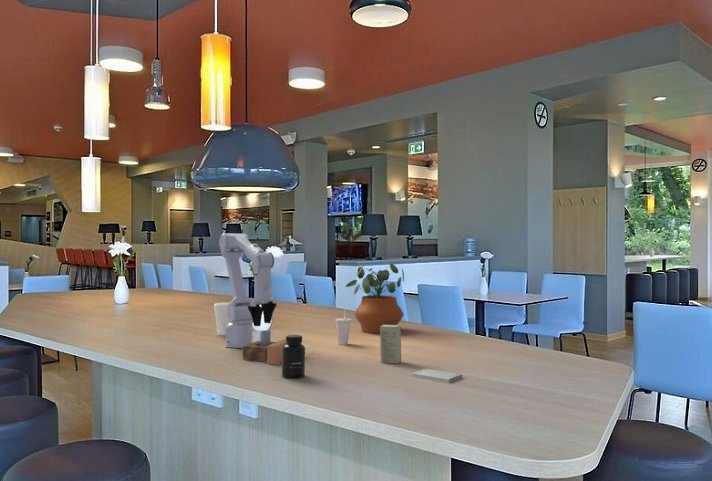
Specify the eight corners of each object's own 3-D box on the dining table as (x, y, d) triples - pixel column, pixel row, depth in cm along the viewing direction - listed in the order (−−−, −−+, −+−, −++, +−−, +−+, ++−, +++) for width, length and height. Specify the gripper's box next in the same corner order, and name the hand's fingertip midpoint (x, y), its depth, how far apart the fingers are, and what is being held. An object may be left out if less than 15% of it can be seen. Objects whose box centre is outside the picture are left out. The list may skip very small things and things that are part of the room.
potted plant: (385, 336, 238) (385, 265, 238) (333, 330, 255) (333, 263, 255) (413, 330, 257) (413, 263, 257) (362, 324, 274) (363, 262, 274)
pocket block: (242, 359, 192) (242, 346, 192) (258, 353, 202) (258, 340, 202) (272, 361, 188) (272, 348, 188) (286, 355, 199) (286, 342, 199)
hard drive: (462, 374, 168) (426, 367, 176) (448, 379, 162) (412, 372, 170) (462, 379, 168) (426, 373, 176) (448, 385, 162) (411, 378, 170)
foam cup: (241, 333, 244) (241, 303, 244) (225, 336, 236) (225, 305, 236) (225, 331, 249) (225, 302, 249) (209, 334, 241) (209, 304, 241)
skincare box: (401, 361, 190) (401, 325, 190) (398, 364, 186) (398, 326, 186) (383, 360, 192) (383, 323, 192) (379, 362, 188) (379, 325, 188)
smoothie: (349, 345, 218) (349, 309, 218) (333, 345, 219) (333, 308, 219) (352, 343, 224) (353, 307, 224) (336, 342, 225) (337, 307, 225)
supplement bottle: (295, 380, 164) (295, 338, 164) (277, 377, 168) (277, 336, 168) (309, 375, 170) (309, 335, 170) (291, 372, 174) (291, 333, 174)
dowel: (258, 355, 194) (258, 331, 194) (263, 353, 198) (263, 330, 198) (267, 355, 193) (267, 332, 193) (272, 354, 196) (272, 330, 196)
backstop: (267, 364, 185) (267, 345, 185) (290, 353, 202) (291, 336, 202) (275, 364, 184) (275, 346, 184) (298, 354, 201) (298, 337, 201)
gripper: (262, 288, 194) (262, 328, 194) (282, 285, 208) (281, 322, 208) (244, 287, 196) (244, 327, 197) (264, 284, 210) (264, 321, 210)
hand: (262, 324), depth 202 cm, fingers open, 7 cm apart
